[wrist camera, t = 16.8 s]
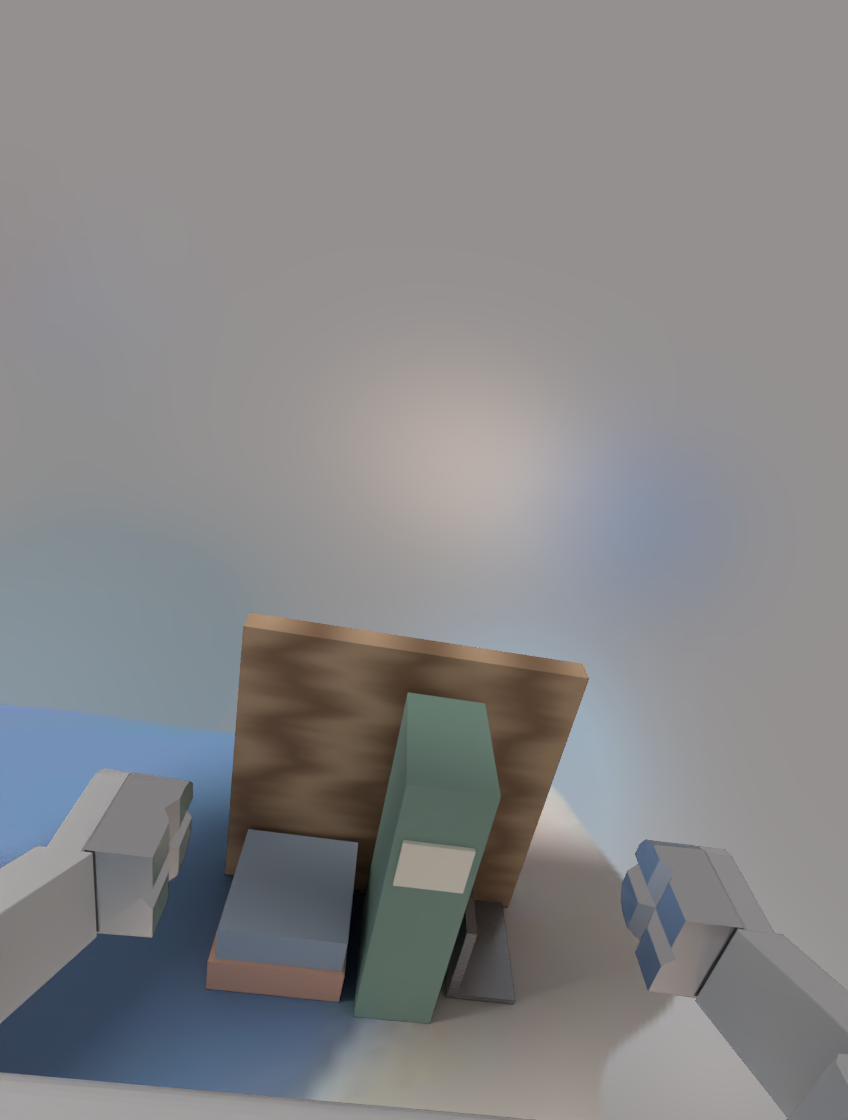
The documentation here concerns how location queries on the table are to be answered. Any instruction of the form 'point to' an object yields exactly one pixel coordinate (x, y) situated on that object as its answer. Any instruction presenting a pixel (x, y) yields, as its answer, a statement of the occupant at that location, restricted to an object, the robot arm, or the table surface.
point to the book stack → (286, 918)
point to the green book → (425, 856)
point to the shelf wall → (384, 734)
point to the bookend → (481, 956)
